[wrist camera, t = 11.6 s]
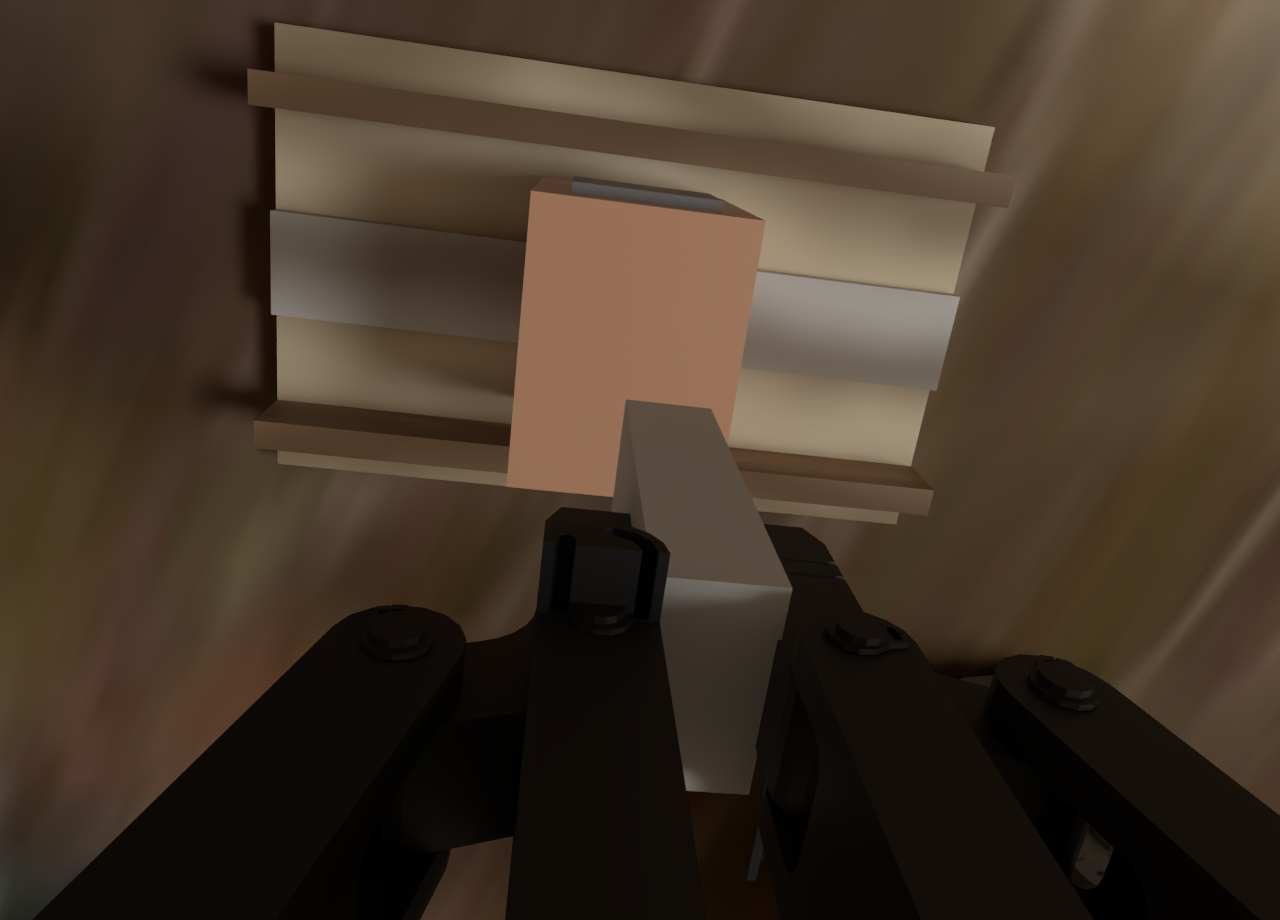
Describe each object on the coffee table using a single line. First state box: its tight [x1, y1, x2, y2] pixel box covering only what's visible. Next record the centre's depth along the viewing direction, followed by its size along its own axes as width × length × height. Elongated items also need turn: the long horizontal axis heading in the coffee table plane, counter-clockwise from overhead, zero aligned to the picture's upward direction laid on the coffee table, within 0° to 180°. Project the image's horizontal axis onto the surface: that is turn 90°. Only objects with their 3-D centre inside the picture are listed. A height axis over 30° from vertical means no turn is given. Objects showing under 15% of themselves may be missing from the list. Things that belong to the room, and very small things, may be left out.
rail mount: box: [247, 22, 1016, 524], centre depth 31 cm, size 15×24×4 cm, turn 83°
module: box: [506, 176, 766, 497], centre depth 28 cm, size 8×6×8 cm
